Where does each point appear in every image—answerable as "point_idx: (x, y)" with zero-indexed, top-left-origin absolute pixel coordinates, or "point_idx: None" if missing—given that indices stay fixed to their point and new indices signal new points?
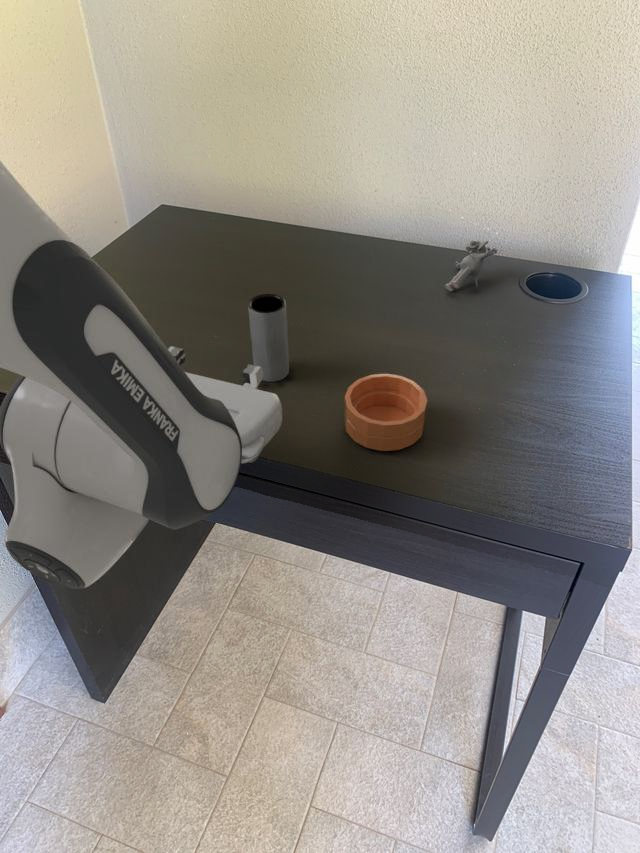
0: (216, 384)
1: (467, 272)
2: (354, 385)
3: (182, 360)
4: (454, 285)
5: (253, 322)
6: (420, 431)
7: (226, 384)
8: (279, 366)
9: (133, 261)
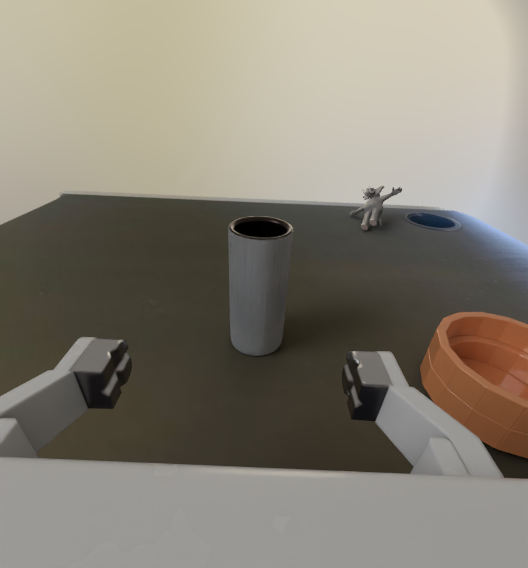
0: (380, 521)
1: (378, 211)
2: (445, 341)
3: (124, 374)
4: (372, 223)
5: (244, 261)
6: None
7: (423, 501)
8: (279, 329)
9: (26, 235)
